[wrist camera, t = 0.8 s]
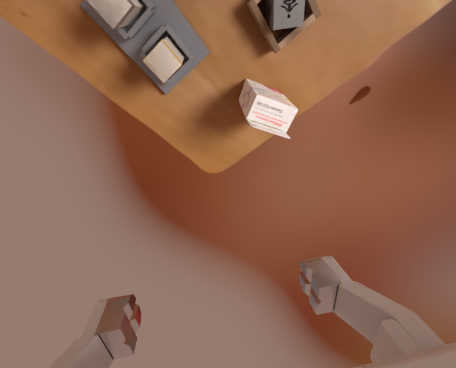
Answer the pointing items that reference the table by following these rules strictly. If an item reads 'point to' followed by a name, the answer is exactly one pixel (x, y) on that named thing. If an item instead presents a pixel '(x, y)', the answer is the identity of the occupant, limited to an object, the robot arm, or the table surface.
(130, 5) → the block
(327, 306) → the robot arm
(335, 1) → the table surface
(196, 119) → the table surface
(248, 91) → the ink cartridge box
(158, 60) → the block
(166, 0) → the block
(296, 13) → the dice cube
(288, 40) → the dice corral
